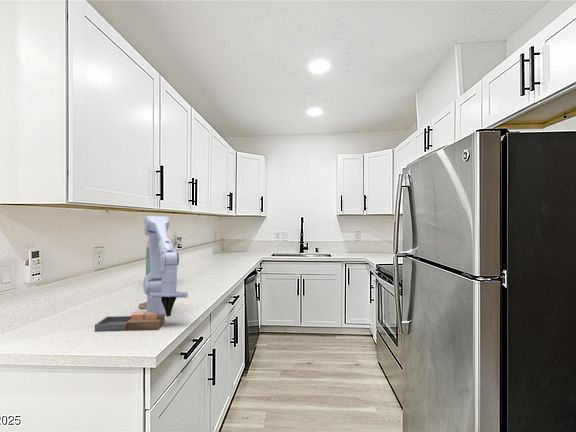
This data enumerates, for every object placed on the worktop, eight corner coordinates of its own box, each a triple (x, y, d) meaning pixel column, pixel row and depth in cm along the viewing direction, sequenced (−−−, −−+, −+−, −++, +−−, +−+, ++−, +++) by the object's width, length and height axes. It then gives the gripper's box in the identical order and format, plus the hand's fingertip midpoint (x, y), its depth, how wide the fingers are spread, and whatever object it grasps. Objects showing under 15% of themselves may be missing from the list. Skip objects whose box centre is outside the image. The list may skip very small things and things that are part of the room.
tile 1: (134, 317, 145) (134, 312, 146) (146, 316, 146) (146, 311, 146) (131, 320, 141) (131, 314, 141) (143, 319, 142) (143, 314, 142)
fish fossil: (150, 298, 197) (151, 296, 197) (169, 299, 198) (170, 297, 198) (136, 308, 171) (136, 306, 171) (158, 310, 172) (158, 307, 172)
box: (106, 322, 148) (106, 316, 148) (135, 322, 149) (135, 316, 149) (94, 331, 136) (94, 324, 136) (125, 330, 137) (125, 324, 137)
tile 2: (147, 316, 146) (147, 311, 146) (159, 316, 147) (159, 311, 147) (144, 319, 142) (144, 314, 142) (156, 319, 142) (156, 314, 142)
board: (135, 322, 149) (136, 314, 149) (164, 321, 150) (164, 314, 151) (126, 330, 137) (126, 322, 137) (157, 329, 139) (158, 322, 139)
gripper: (147, 283, 140) (147, 318, 140) (186, 283, 142) (185, 318, 142) (152, 280, 147) (151, 314, 147) (188, 280, 149) (188, 313, 149)
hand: (168, 315), depth 145 cm, fingers closed
